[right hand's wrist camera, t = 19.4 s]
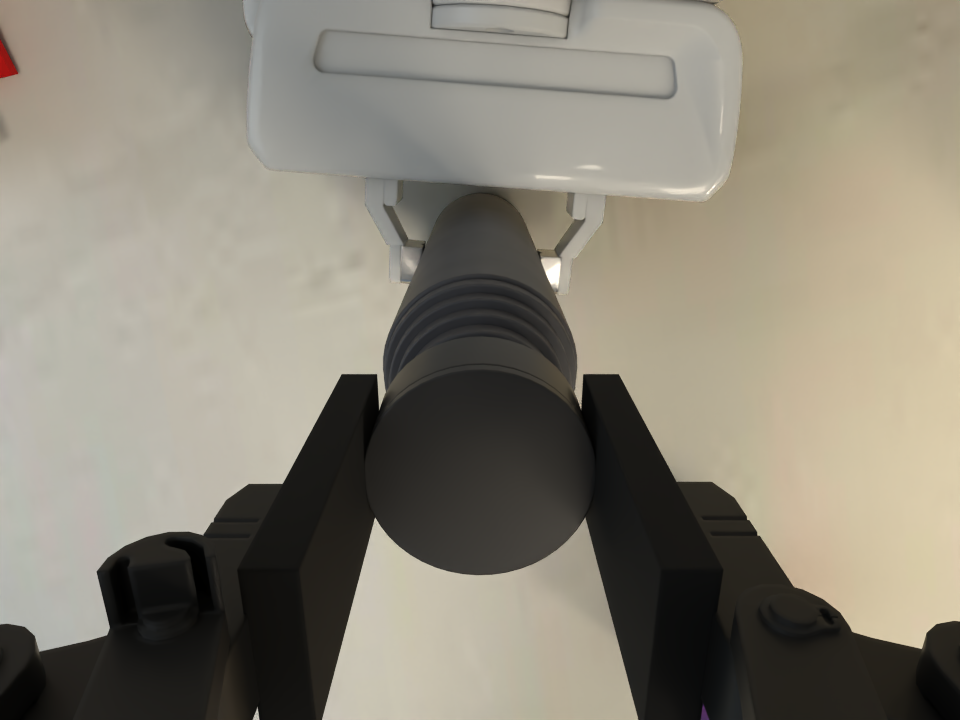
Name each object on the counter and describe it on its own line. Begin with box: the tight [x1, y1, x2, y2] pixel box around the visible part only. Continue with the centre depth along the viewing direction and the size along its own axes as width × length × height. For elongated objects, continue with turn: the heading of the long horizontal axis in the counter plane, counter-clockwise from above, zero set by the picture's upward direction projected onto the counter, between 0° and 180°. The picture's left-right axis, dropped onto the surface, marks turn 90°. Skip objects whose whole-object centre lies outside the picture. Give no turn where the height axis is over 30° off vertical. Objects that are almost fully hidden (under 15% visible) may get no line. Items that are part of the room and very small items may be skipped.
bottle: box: [383, 193, 577, 392], centre depth 25 cm, size 5×5×25 cm
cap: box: [364, 336, 596, 575], centre depth 14 cm, size 4×4×2 cm
